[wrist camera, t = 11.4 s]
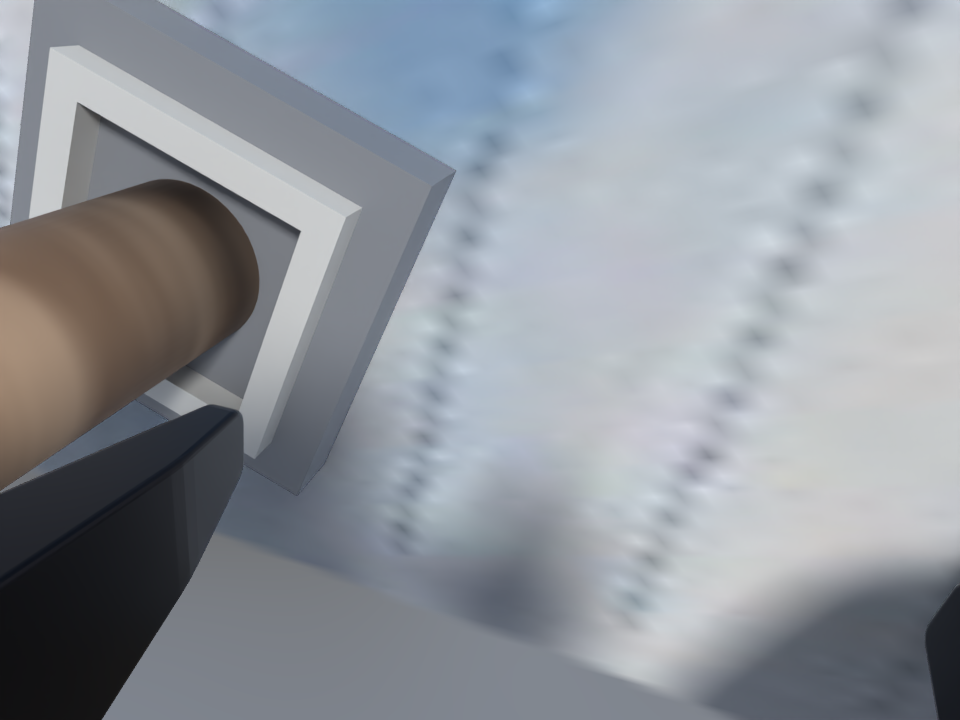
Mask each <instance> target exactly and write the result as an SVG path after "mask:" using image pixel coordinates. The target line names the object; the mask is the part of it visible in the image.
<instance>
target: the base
mask: <svg viewBox="0 0 960 720" xmlns="http://www.w3.org/2000/svg"><path fill="white" fill-rule="evenodd" d="M455 172H456V170H454V169H452V168H451V167H449V166H447V165H445V164H444V163H442V162H440V161H438V160H437V159H435V158H433V157H431V156H430V155H428V154H426V153H424V152H423V151H421V150H419V149H417V148H415V147H414V146H412V145H410V144H408V143H407V142H405V141H403V140H401V139H400V138H398V137H396V136H394V135H393V134H391V133H389V132H387V131H386V130H384V129H382V128H380V127H379V126H377V125H375V124H373V123H371V122H370V121H368V120H366V119H364V118H363V117H361V116H359V115H357V114H356V113H354V112H352V111H350V110H349V109H347V108H345V107H343V106H342V105H340V104H338V103H336V102H334V101H333V100H331V99H329V98H327V97H326V96H324V95H322V94H320V93H319V92H317V91H315V90H313V89H312V88H310V87H308V86H306V85H305V84H303V83H301V82H299V81H297V80H296V79H294V78H292V77H290V76H289V75H287V74H285V73H283V72H282V71H280V70H278V69H276V68H275V67H273V66H271V65H269V64H268V63H266V62H264V61H262V60H260V59H259V58H257V57H255V56H253V55H252V54H250V53H248V52H246V51H245V50H243V49H241V48H239V47H238V46H236V45H234V44H232V43H231V42H229V41H227V40H225V39H224V38H222V37H220V36H218V35H216V34H215V33H213V32H211V31H209V30H208V29H206V28H204V27H202V26H201V25H199V24H197V23H195V22H194V21H192V20H190V19H188V18H187V17H185V16H183V15H181V14H179V13H178V12H176V11H174V10H172V9H171V8H169V7H167V6H165V5H164V4H162V3H160V2H158V1H157V0H34V9H33V18H32V27H31V37H30V46H29V55H28V64H27V73H26V83H25V92H24V101H23V110H22V119H21V129H20V138H19V147H18V156H17V165H16V175H15V184H14V193H13V202H12V212H11V221H10V225H11V224H14V223H17V222H20V221H24V220H27V219H30V218H33V217H36V216H40V215H43V214H46V213H49V212H52V211H56V210H59V209H62V208H65V207H68V206H72V205H75V204H78V203H81V202H85V201H88V200H91V199H94V198H97V197H101V196H104V195H107V194H110V193H113V192H117V191H120V190H123V189H126V188H129V187H133V186H136V185H139V184H142V183H145V182H149V181H152V180H158V179H173V180H180V181H183V182H187V183H190V184H192V185H195V186H197V187H199V188H201V189H203V190H205V191H206V192H208V193H210V194H211V195H212V196H214V197H215V198H216V199H218V200H219V201H220V202H221V203H222V204H223V205H224V206H226V207H227V208H228V210H229V211H230V212H231V213H232V214H233V215H234V216H235V218H236V219H237V220H238V222H239V223H240V224H241V226H242V227H243V229H244V231H245V233H246V234H247V236H248V238H249V240H250V242H251V245H252V247H253V250H254V253H255V256H256V259H257V264H258V269H259V294H258V299H257V302H256V306H255V308H254V310H253V312H252V314H251V316H250V318H249V319H248V320H247V322H246V323H245V324H244V325H243V326H242V327H241V328H240V329H238V330H237V331H235V332H234V333H232V334H231V335H229V336H228V337H226V338H225V339H223V340H222V341H220V342H219V343H217V344H216V345H215V346H213V347H212V348H210V349H209V350H207V351H206V352H204V353H203V354H201V355H200V356H198V357H197V358H195V359H194V360H192V361H191V362H189V363H188V364H187V365H185V366H184V367H182V368H181V369H179V370H178V371H176V372H175V373H173V374H172V375H170V376H169V377H167V378H166V379H164V380H163V381H161V382H160V383H158V384H157V385H156V386H154V387H153V388H151V389H150V390H148V391H147V392H145V393H144V394H142V395H141V396H139V397H138V398H136V399H135V400H136V401H138V402H139V403H141V404H143V405H144V406H146V407H148V408H149V409H151V410H153V411H155V412H156V413H158V414H160V415H161V416H163V417H165V418H166V419H168V420H172V419H175V418H177V417H179V416H182V415H184V414H186V413H189V412H191V411H193V410H196V409H198V408H201V407H203V406H206V405H209V404H215V405H219V406H224V407H228V408H232V409H236V410H238V411H239V412H241V414H242V416H243V421H244V465H246V466H247V467H249V468H251V469H252V470H254V471H256V472H257V473H259V474H261V475H262V476H264V477H266V478H267V479H269V480H271V481H272V482H274V483H276V484H278V485H279V486H281V487H283V488H284V489H286V490H288V491H289V492H291V493H293V494H294V495H296V496H297V495H298V494H299V493H300V492H301V491H302V489H303V488H304V487H305V486H306V485H307V484H308V482H309V481H310V480H311V479H312V478H313V477H314V475H315V474H316V473H317V472H318V471H319V470H320V468H321V467H322V466H323V465H324V464H325V461H326V459H327V457H328V455H329V452H330V450H331V448H332V446H333V444H334V441H335V439H336V437H337V435H338V432H339V430H340V428H341V426H342V424H343V421H344V419H345V417H346V415H347V412H348V410H349V408H350V406H351V404H352V401H353V399H354V397H355V395H356V392H357V390H358V388H359V386H360V383H361V381H362V379H363V377H364V375H365V372H366V370H367V368H368V366H369V363H370V361H371V359H372V357H373V355H374V352H375V350H376V348H377V346H378V343H379V341H380V339H381V337H382V335H383V332H384V330H385V328H386V326H387V323H388V321H389V319H390V317H391V315H392V312H393V310H394V308H395V306H396V303H397V301H398V299H399V297H400V294H401V292H402V290H403V288H404V286H405V283H406V281H407V279H408V277H409V274H410V272H411V270H412V268H413V266H414V263H415V261H416V259H417V257H418V254H419V252H420V250H421V248H422V246H423V243H424V241H425V239H426V237H427V234H428V232H429V230H430V228H431V226H432V223H433V221H434V219H435V217H436V214H437V212H438V210H439V208H440V205H441V203H442V201H443V199H444V197H445V194H446V192H447V190H448V188H449V185H450V183H451V181H452V179H453V177H454V174H455Z"/></svg>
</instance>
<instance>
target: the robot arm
mask: <svg viewBox="0 0 960 720" xmlns="http://www.w3.org/2000/svg"><path fill="white" fill-rule="evenodd" d="M243 464H244V421H243V416H242V414H241V412H239V411H238V410H236V409H232V408H228V407H224V406H219V405H215V404H209V405H206V406H203V407H201V408H198V409H196V410H193V411H191V412H189V413H186V414H184V415H182V416H179V417H177V418H175V419H172V420H170V421H168V422H165V423H163V424H161V425H158V426H156V427H154V428H151V429H149V430H147V431H144V432H142V433H140V434H137V435H135V436H133V437H130V438H128V439H126V440H123V441H121V442H119V443H116V444H114V445H112V446H109V447H107V448H105V449H102V450H100V451H98V452H95V453H93V454H91V455H88V456H86V457H84V458H81V459H79V460H77V461H74V462H72V463H69V464H67V465H65V466H62V467H60V468H58V469H55V470H53V471H51V472H48V473H46V474H44V475H41V476H39V477H37V478H35V479H32V480H30V481H28V482H25V483H23V484H20V485H18V486H16V487H13V488H11V489H9V490H6V491H4V492H2V493H0V720H102V718H103V717H104V715H105V714H106V712H107V711H108V709H109V707H110V706H111V704H112V703H113V701H114V700H115V698H116V696H117V695H118V693H119V692H120V690H121V688H122V687H123V685H124V683H125V682H126V681H127V679H128V677H129V676H130V674H131V673H132V671H133V669H134V668H135V666H136V665H137V663H138V662H139V660H140V659H141V657H142V655H143V654H144V652H145V651H146V649H147V647H148V646H149V644H150V643H151V641H152V640H153V638H154V636H155V635H156V633H157V632H158V630H159V629H160V627H161V626H162V624H163V622H164V621H165V619H166V618H167V616H168V615H169V613H170V611H171V610H172V608H173V607H174V605H175V603H176V602H177V600H178V599H179V597H180V596H181V594H182V592H183V591H184V589H185V587H186V586H187V584H188V582H189V581H190V579H191V577H192V575H193V573H194V571H195V569H196V567H197V565H198V563H199V561H200V559H201V557H202V555H203V553H204V551H205V549H206V547H207V545H208V543H209V541H210V538H211V537H212V535H213V532H214V530H215V528H216V526H217V524H218V522H219V520H220V518H221V516H222V514H223V512H224V510H225V508H226V506H227V504H228V502H229V499H230V497H231V495H232V493H233V491H234V489H235V487H236V485H237V483H238V481H239V479H240V476H241V473H242V469H243ZM925 648H926V654H927V660H928V665H929V671H930V677H931V683H932V689H933V694H934V700H935V706H936V712H937V718H938V720H960V583H959V584H958V585H956V586H955V587H954V589H953V590H952V591H951V593H950V594H949V595H948V597H947V598H946V600H945V601H944V602H943V604H942V605H941V607H940V608H939V609H938V611H937V612H936V614H935V615H934V616H933V618H932V619H931V621H930V622H929V624H928V626H927V629H926V633H925Z"/></svg>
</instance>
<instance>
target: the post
mask: <svg viewBox="0 0 960 720" xmlns="http://www.w3.org/2000/svg"><path fill="white" fill-rule="evenodd" d="M258 294H259V269H258V264H257V259H256V256H255V253H254V250H253V247H252V245H251V242H250V240H249V238H248V236H247V234H246V233H245V231H244V229H243V227H242V226H241V224H240V223H239V222H238V220H237V219H236V218H235V216H234V215H233V214H232V213H231V212H230V211H229V210H228V208H227V207H226V206H224V205H223V204H222V203H221V202H220V201H219V200H218V199H216V198H215V197H214V196H212V195H211V194H210V193H208V192H206V191H205V190H203V189H201V188H199V187H197V186H195V185H192V184H190V183H187V182H183V181H180V180H173V179H158V180H152V181H149V182H145V183H142V184H139V185H136V186H133V187H129V188H126V189H123V190H120V191H117V192H113V193H110V194H107V195H104V196H101V197H97V198H94V199H91V200H88V201H85V202H81V203H78V204H75V205H72V206H68V207H65V208H62V209H59V210H56V211H52V212H49V213H46V214H43V215H40V216H36V217H33V218H30V219H27V220H24V221H20V222H17V223H14V224H11V225H8V226H4V227H1V228H0V491H1V490H2V489H4V488H5V487H7V486H8V485H9V484H11V483H13V482H14V481H15V480H17V479H18V478H20V477H21V476H23V475H24V474H26V473H27V472H29V471H30V470H32V469H33V468H35V467H36V466H38V465H39V464H41V463H42V462H43V461H45V460H46V459H48V458H49V457H51V456H52V455H54V454H55V453H57V452H58V451H60V450H61V449H63V448H64V447H66V446H67V445H69V444H70V443H72V442H73V441H74V440H76V439H77V438H79V437H80V436H82V435H83V434H85V433H86V432H88V431H89V430H91V429H92V428H94V427H95V426H97V425H98V424H100V423H101V422H102V421H104V420H105V419H107V418H108V417H110V416H111V415H113V414H114V413H116V412H117V411H119V410H120V409H122V408H123V407H125V406H126V405H128V404H129V403H130V402H132V401H133V400H135V399H136V398H138V397H139V396H141V395H142V394H144V393H145V392H147V391H148V390H150V389H151V388H153V387H154V386H156V385H157V384H158V383H160V382H161V381H163V380H164V379H166V378H167V377H169V376H170V375H172V374H173V373H175V372H176V371H178V370H179V369H181V368H182V367H184V366H185V365H187V364H188V363H189V362H191V361H192V360H194V359H195V358H197V357H198V356H200V355H201V354H203V353H204V352H206V351H207V350H209V349H210V348H212V347H213V346H215V345H216V344H217V343H219V342H220V341H222V340H223V339H225V338H226V337H228V336H229V335H231V334H232V333H234V332H235V331H237V330H238V329H240V328H241V327H242V326H243V325H244V324H245V323H246V322H247V320H248V319H249V318H250V316H251V314H252V312H253V310H254V308H255V306H256V302H257V299H258Z"/></svg>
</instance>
